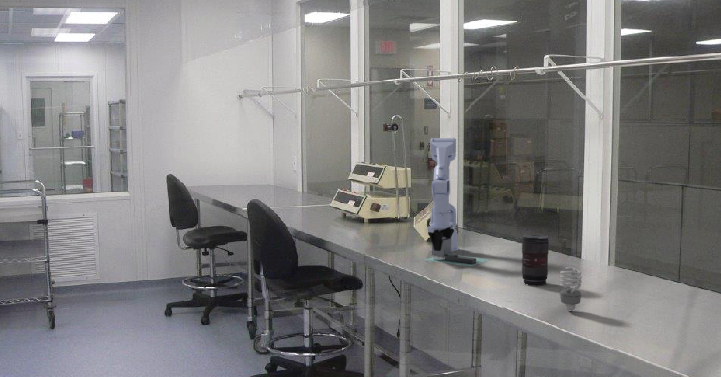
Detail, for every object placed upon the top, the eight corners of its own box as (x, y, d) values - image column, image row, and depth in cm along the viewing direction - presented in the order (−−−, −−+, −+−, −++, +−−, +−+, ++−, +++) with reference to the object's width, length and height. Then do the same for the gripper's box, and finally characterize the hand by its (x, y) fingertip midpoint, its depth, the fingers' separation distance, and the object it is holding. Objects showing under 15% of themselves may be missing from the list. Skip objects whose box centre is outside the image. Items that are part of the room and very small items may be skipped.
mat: (446, 254, 285) (446, 253, 285) (492, 260, 272) (492, 259, 272) (422, 260, 274) (422, 259, 274) (469, 267, 261) (469, 266, 261)
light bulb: (556, 308, 204) (556, 265, 203) (576, 308, 204) (577, 264, 203) (563, 314, 198) (564, 269, 197) (584, 313, 199) (585, 268, 197)
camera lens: (548, 287, 229) (549, 238, 228) (521, 286, 231) (522, 238, 230) (547, 281, 237) (548, 234, 236) (521, 280, 239) (521, 233, 238)
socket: (450, 254, 274) (451, 236, 273) (443, 256, 270) (443, 238, 270) (439, 253, 277) (439, 235, 277) (431, 255, 273) (432, 237, 273)
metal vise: (478, 262, 267) (478, 251, 267) (469, 265, 263) (469, 253, 262) (439, 257, 278) (439, 246, 278) (429, 259, 274) (429, 248, 273)
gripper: (442, 209, 280) (442, 245, 282) (420, 213, 269) (420, 251, 270) (458, 210, 276) (458, 247, 277) (437, 215, 265) (437, 253, 266)
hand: (441, 249), depth 274 cm, fingers closed on socket, 5 cm apart
